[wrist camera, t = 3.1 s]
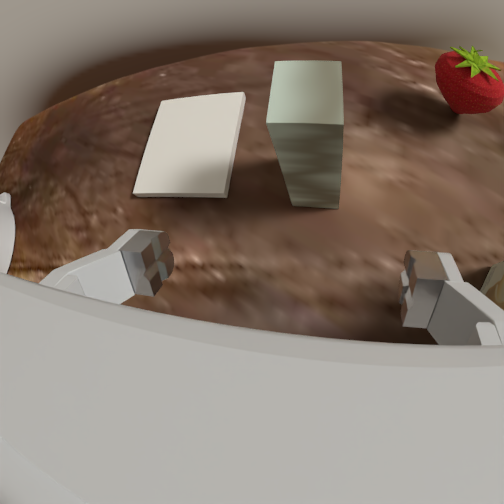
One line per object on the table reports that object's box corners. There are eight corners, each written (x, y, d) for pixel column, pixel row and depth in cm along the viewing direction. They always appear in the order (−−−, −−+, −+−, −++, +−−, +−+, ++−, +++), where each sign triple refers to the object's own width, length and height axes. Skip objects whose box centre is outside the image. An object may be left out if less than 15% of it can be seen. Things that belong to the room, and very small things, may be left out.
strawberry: (485, 146, 23) (524, 86, 14) (421, 118, 26) (444, 47, 16) (485, 107, 24) (515, 48, 15) (426, 82, 26) (444, 15, 17)
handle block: (292, 205, 27) (266, 122, 15) (297, 156, 28) (275, 61, 16) (338, 208, 26) (343, 124, 14) (340, 158, 27) (341, 61, 15)
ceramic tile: (137, 197, 31) (132, 193, 30) (165, 106, 33) (161, 101, 32) (227, 197, 28) (223, 193, 27) (245, 97, 31) (243, 92, 30)
